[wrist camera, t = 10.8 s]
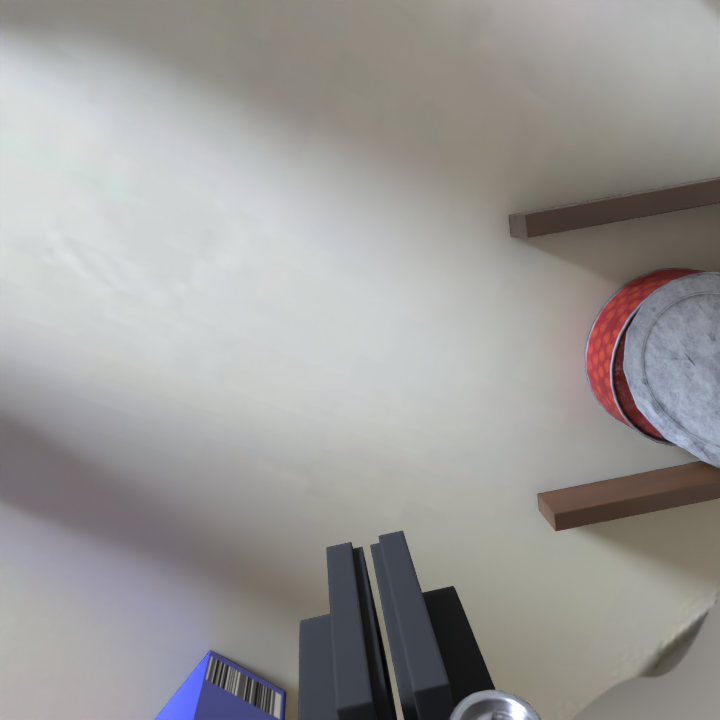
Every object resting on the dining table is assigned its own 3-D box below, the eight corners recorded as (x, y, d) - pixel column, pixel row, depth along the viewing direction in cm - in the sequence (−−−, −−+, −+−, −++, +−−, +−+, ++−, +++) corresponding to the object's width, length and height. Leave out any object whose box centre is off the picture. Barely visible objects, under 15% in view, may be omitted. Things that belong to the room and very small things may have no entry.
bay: (508, 215, 30) (525, 214, 28) (771, 167, 31) (810, 162, 28) (538, 510, 35) (555, 531, 32) (767, 464, 35) (801, 481, 33)
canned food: (551, 365, 37) (544, 371, 28) (659, 244, 35) (690, 207, 26) (698, 481, 34) (744, 531, 25) (827, 358, 32) (931, 363, 23)
